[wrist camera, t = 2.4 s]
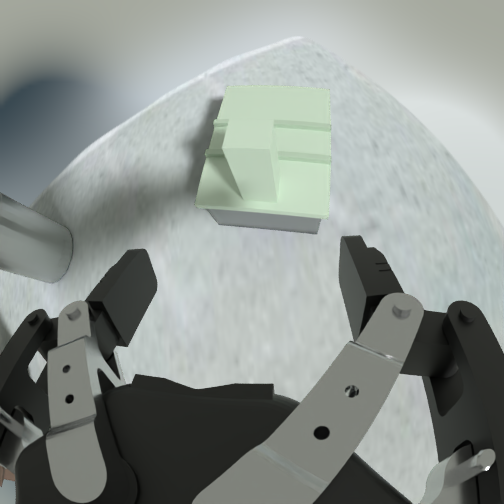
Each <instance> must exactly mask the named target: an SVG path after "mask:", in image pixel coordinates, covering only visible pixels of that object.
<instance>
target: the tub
mask: <svg viewBox="0 0 504 504" xmlns="http://www.w3.org/2000/svg"><path fill="white" fill-rule="evenodd" d="M208 211H209V212H210V213H211V215H212V216H213V217H214V219H215V220H216V221H217V223H218V224H219V225H227V226H239V227H250V228H260V229H270V230H281V231H290V232H300V233H309V234H317V232H318V228H319V225H320V221H321V219H319V218H310V217H300V216H290V215H280V214H269V213H258V212H245V211H233V210H219V209H208Z"/></svg>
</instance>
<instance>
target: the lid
mask: <svg viewBox="0 0 504 504" xmlns="http://www.w3.org/2000/svg"><path fill="white" fill-rule="evenodd" d="M213 124H214V127H215V128H214V131H213V134H212V138H211V142H210V145H209V149H206V150H205V156H206V160H205V164H204V168H203V171H202V175H201V179H200V183H199V187H198V192H197V196H196V200H195V204H194V205H195V206H196V207H197V208H204V209H219V210H233V211H245V212H258V213H269V214H280V215H290V216H300V217H310V218H319V219H328V217H329V200H330V168H331V119H330V89H321V88H310V87H296V86H268V85H249V86H227V88H226V91H225V95H224V98H223V101H222V104H221V107H220V111H219V114H218V117H217V119H214V123H213Z"/></svg>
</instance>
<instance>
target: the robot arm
mask: <svg viewBox="0 0 504 504" xmlns="http://www.w3.org/2000/svg"><path fill="white" fill-rule="evenodd" d="M72 248H73V243H72V237H71V234H70V232H69V230H68V229H67V228H66V227H64V226H62V225H60V224H58V223H56V222H54V221H52V220H51V219H49V218H47V217H45V216H43V215H41V214H39V213H37V212H35V211H33V210H32V209H30V208H28V207H26V206H24V205H22V204H20V203H18V202H17V201H15V200H13V199H11V198H9V197H7V196H6V195H4V194H2V193H0V270H4V271H7V272H10V273H14V274H18V275H21V276H25V277H29V278H32V279H36V280H40V281H44V282H48V283H54V282H57V281H58V280H59V279H61V277H62V276H63V275H64V274H65V272H66V270H67V268H68V266H69V264H70V260H71V256H72ZM339 283H340V288H341V292H342V295H343V299H344V303H345V307H346V311H347V315H348V318H349V323H350V327H351V331H352V335H353V339H354V342H353V341H349V342H348V343H347V344H346V346H345V347H344V348H343V350H342V351H341V352H340V354H339V355H338V356H337V358H336V359H335V360H334V362H333V363H332V364H331V366H330V367H329V368H328V370H327V371H326V372H325V374H324V375H323V376H322V377H321V379H320V380H319V381H318V382H317V384H316V385H315V386H314V387H313V389H312V390H311V391H310V392H309V393H308V395H307V396H306V397H305V398H304V399H303V401H302V402H301V403H299V402H298V401H295V400H293V399H291V398H288V397H285V396H281V395H277V394H274V385H273V384H237V383H235V384H230V385H224V386H218V387H211V388H204V389H193V388H190V387H187V386H184V385H182V384H179V383H176V382H173V381H171V380H168V379H166V378H160V377H152V376H145V375H139V374H135V376H134V379H133V381H132V384H126V382H125V379H124V376H123V372H122V369H121V365H120V362H119V358H118V355H117V353H116V351H115V350H114V349H115V347H116V346H124V347H128V345H129V343H130V341H131V339H132V337H133V335H134V333H135V331H136V329H137V327H138V326H139V324H140V322H141V320H142V318H143V316H144V314H145V312H146V310H147V308H148V306H149V304H150V303H151V301H152V299H153V297H154V295H155V293H156V291H157V279H156V276H155V273H154V270H153V267H152V264H151V261H150V258H149V255H148V253H147V251H146V250H145V249H132V250H127V251H126V253H125V254H124V255H123V256H122V257H121V259H120V260H119V261H118V262H117V263H116V264H115V265H114V266H112V267H111V268H110V269H109V270H108V272H107V273H106V274H105V277H103V278H102V279H101V280H100V283H98V284H97V285H96V287H95V288H94V289H93V291H92V292H91V293H90V295H89V296H88V297H87V299H86V300H85V301H76V302H73V303H71V304H69V305H68V306H66V307H65V308H64V309H63V310H62V311H61V313H60V315H59V317H57V318H52V319H50V318H49V316H48V315H47V313H46V311H45V310H43V309H38V310H35V311H33V312H32V313H30V314H29V315H28V316H27V317H26V318H25V319H24V321H23V322H22V324H21V325H20V326H19V328H18V329H17V331H16V332H15V333H14V335H13V336H12V338H11V339H10V341H9V342H8V344H7V345H6V347H5V348H4V350H3V352H2V353H1V355H0V465H1V466H3V467H4V468H6V469H8V470H9V471H10V472H12V473H13V474H14V475H15V486H16V504H412V502H411V501H409V500H408V499H407V498H406V497H405V496H403V495H402V494H401V493H400V492H399V491H397V490H396V489H395V488H394V487H393V486H392V485H390V484H389V483H388V482H387V481H386V480H385V479H383V478H382V477H381V476H380V475H379V474H378V473H377V472H376V471H374V470H373V469H372V468H371V467H370V466H369V465H368V464H367V463H366V462H365V461H363V460H362V459H361V458H360V457H359V456H358V455H357V454H356V453H355V452H354V450H355V449H356V448H357V446H358V445H359V443H360V442H361V440H362V439H363V437H364V435H365V434H366V432H367V431H368V429H369V428H370V426H371V424H372V423H373V421H374V419H375V418H376V416H377V414H378V413H379V411H380V409H381V407H382V406H383V404H384V402H385V400H386V398H387V396H388V395H389V393H390V391H391V389H392V387H393V385H394V383H395V381H396V379H397V377H398V375H399V373H400V374H408V375H417V376H422V379H423V383H424V387H425V391H426V395H427V399H428V404H429V408H430V413H431V418H432V423H433V428H434V434H435V440H436V446H437V453H438V460H439V463H438V464H437V465H436V466H435V467H434V468H433V469H432V470H431V472H430V474H429V475H428V478H427V481H426V490H425V494H424V496H423V498H422V500H421V501H420V503H419V504H504V353H503V351H502V349H501V347H500V345H499V343H498V341H497V339H496V337H495V335H494V333H493V331H492V329H491V327H490V325H489V324H488V322H487V320H486V318H485V316H484V315H483V313H482V312H481V310H480V309H479V308H478V307H477V306H475V305H474V304H472V303H470V302H467V301H455V302H453V303H452V304H451V305H450V306H449V308H448V310H447V312H446V313H441V312H433V311H426V310H424V309H423V306H422V304H421V303H420V302H419V301H418V300H417V299H416V298H415V297H413V296H411V295H409V294H405V293H404V292H403V290H402V288H401V286H400V284H399V282H398V280H397V278H396V276H395V275H394V273H393V271H392V270H391V267H390V265H389V264H388V262H387V260H386V258H385V257H384V255H383V254H382V253H381V252H380V251H378V250H377V249H376V248H374V247H371V248H367V246H366V244H365V242H364V241H363V239H362V237H361V236H360V235H359V236H342V237H341V242H340V260H339ZM37 350H38V351H39V352H40V354H41V355H42V356H43V358H44V359H45V360H46V361H47V363H46V365H45V367H44V369H43V371H42V373H41V375H40V377H39V378H38V380H37V382H36V383H35V382H34V381H33V380H32V379H31V378H30V377H29V374H28V365H29V363H30V362H31V360H32V358H33V357H34V355H35V353H36V352H37ZM50 425H51V430H50V431H49V432H48V430H49V427H50Z"/></svg>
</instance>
